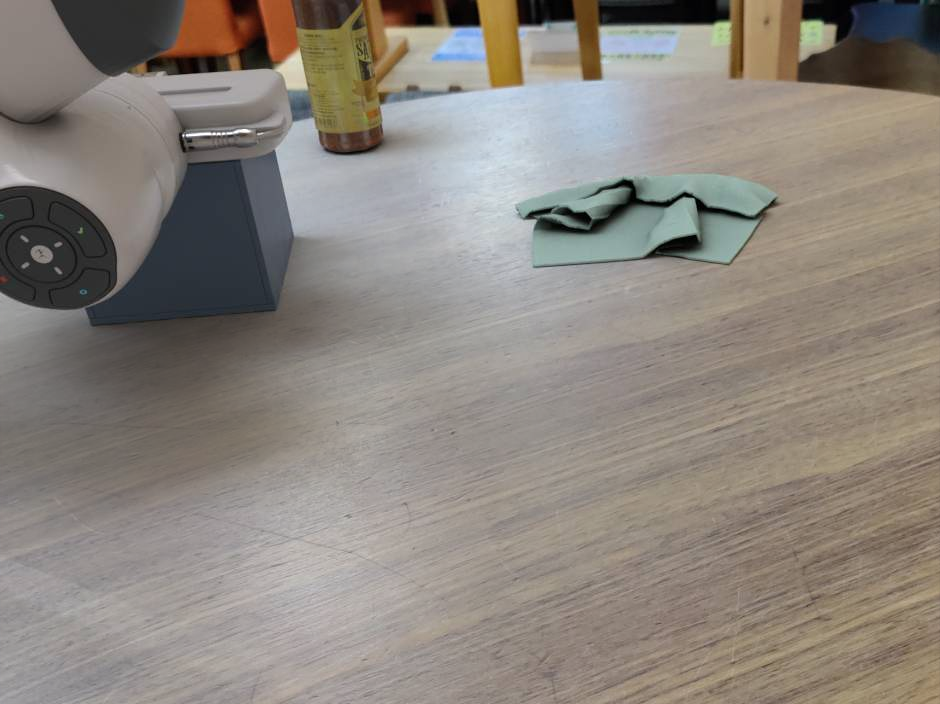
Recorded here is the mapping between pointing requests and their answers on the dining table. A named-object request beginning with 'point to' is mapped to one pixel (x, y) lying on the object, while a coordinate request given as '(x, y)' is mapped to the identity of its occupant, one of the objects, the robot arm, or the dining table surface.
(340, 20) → the sauce bottle
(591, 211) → the cloth
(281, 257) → the carton
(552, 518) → the dining table surface
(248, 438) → the dining table surface
